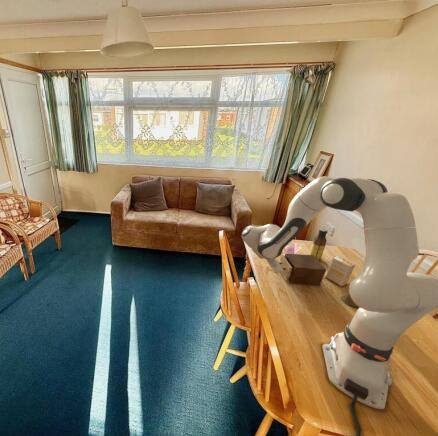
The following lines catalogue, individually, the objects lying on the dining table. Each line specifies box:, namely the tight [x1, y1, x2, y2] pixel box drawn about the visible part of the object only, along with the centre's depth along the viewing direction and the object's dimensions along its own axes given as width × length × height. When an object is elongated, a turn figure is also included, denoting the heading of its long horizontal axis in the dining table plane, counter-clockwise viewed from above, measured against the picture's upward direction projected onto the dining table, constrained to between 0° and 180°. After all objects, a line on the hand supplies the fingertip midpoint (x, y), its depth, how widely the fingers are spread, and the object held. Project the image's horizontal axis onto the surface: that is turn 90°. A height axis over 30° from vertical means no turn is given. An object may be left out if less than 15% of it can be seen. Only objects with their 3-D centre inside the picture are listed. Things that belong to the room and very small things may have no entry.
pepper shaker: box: [342, 290, 359, 308], centre depth 106 cm, size 6×6×11 cm
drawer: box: [278, 254, 294, 282], centre depth 124 cm, size 18×11×9 cm, turn 82°
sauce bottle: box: [308, 227, 328, 261], centre depth 137 cm, size 6×6×20 cm
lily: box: [281, 242, 303, 256], centre depth 140 cm, size 12×12×10 cm
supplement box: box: [325, 255, 357, 287], centre depth 119 cm, size 8×5×13 cm, turn 22°
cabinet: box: [284, 252, 327, 287], centre depth 123 cm, size 15×13×11 cm
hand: (278, 266), depth 124 cm, fingers open, 6 cm apart
